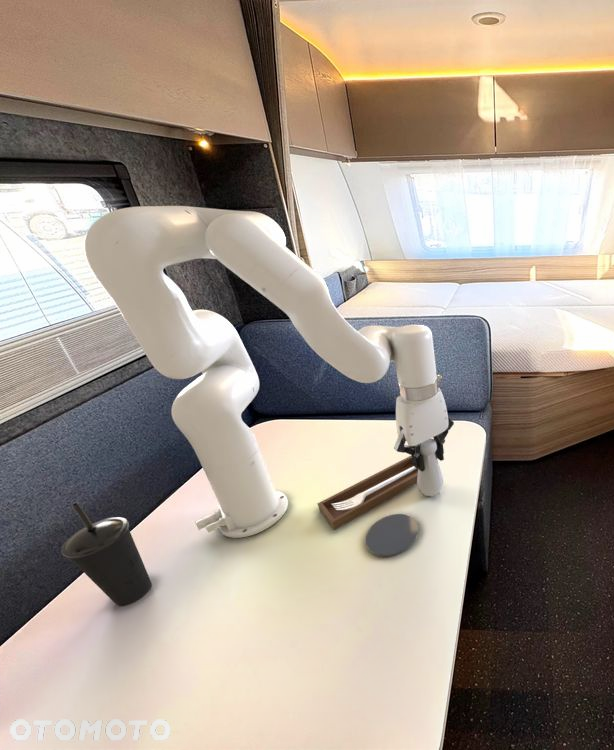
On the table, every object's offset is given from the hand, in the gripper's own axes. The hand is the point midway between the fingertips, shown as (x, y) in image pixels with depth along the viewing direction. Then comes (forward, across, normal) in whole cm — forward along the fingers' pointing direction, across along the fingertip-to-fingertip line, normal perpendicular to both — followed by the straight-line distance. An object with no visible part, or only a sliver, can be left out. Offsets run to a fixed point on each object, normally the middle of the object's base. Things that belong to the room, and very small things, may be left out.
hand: (429, 462), depth 83 cm
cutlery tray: (+8, +9, -8) cm, 15 cm away
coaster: (+8, +13, +5) cm, 16 cm away
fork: (+7, +9, -8) cm, 14 cm away
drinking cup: (+8, +51, -16) cm, 54 cm away
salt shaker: (+8, 0, 0) cm, 8 cm away
